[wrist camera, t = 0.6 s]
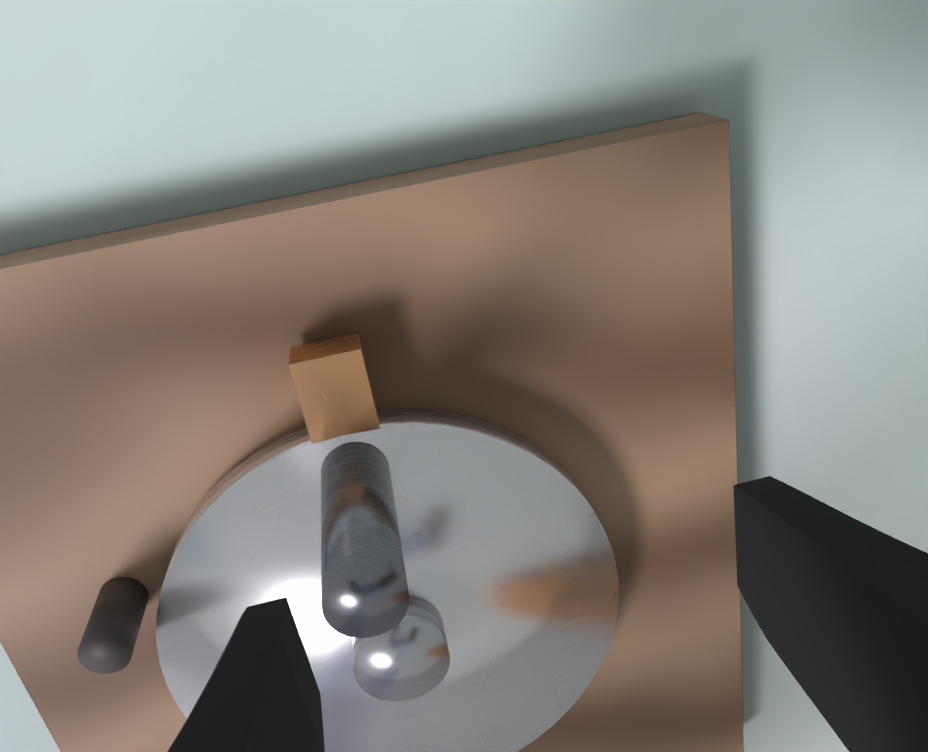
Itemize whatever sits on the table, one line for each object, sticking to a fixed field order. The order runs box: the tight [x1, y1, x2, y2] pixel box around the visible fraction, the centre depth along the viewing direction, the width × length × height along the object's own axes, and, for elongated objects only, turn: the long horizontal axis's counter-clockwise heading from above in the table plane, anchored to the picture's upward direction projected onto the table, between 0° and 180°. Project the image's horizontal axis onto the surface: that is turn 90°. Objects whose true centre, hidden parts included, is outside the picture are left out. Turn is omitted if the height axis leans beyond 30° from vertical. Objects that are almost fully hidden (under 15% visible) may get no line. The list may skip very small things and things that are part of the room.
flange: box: [156, 333, 619, 752], centre depth 19 cm, size 14×12×6 cm
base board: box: [0, 113, 744, 752], centre depth 22 cm, size 22×20×4 cm
